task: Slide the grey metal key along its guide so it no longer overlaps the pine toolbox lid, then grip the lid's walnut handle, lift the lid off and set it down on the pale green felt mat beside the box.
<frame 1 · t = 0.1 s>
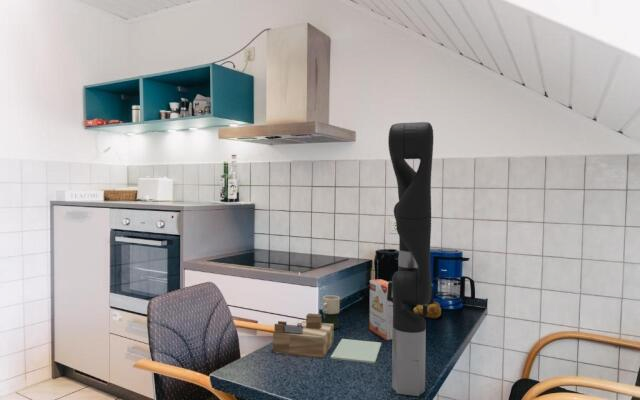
hand: (410, 315, 131), 17 cm above the countertop, tool pointing down, fingers open, 8 cm apart
character mug: (330, 328, 174), on the countertop
toolbox: (312, 348, 150), on the countertop
mat: (357, 351, 148), on the countertop
lid: (312, 333, 150), point 5 cm above the countertop, touching toolbox
cracker box: (383, 335, 166), on the countertop
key: (291, 327, 145), point 9 cm above the countertop, slide at 0.0 cm
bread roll: (427, 316, 194), on the countertop
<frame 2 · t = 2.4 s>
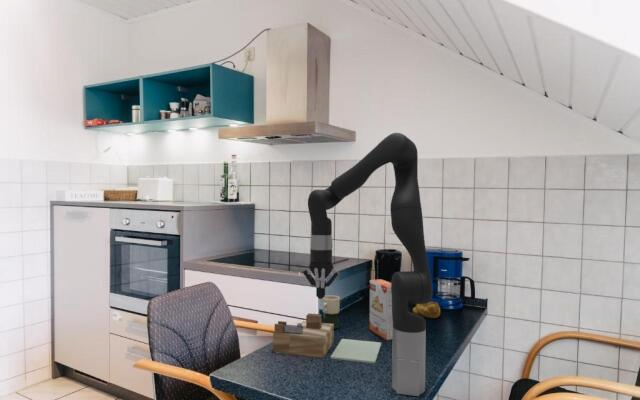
hand: (320, 298, 143), 20 cm above the countertop, tool pointing down, fingers closed
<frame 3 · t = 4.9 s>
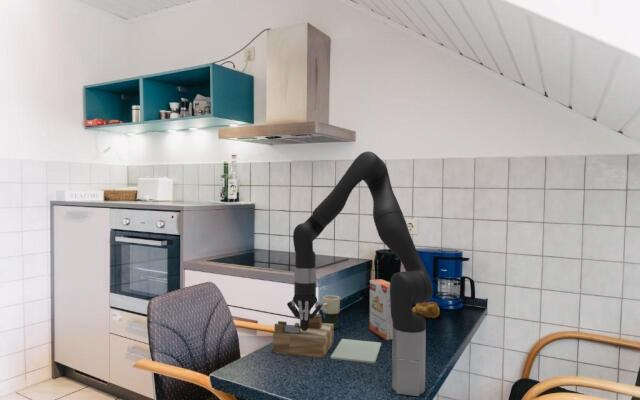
hand: (304, 330, 145), 8 cm above the countertop, tool pointing down, fingers closed
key: (288, 327, 146), point 9 cm above the countertop, slide at 1.0 cm, touching gripper
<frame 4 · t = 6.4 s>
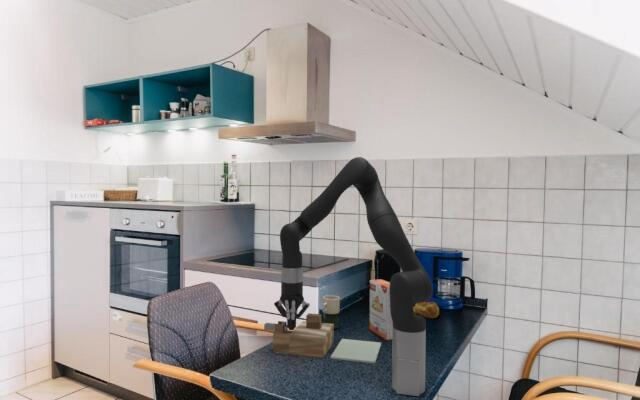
hand: (291, 329, 146), 8 cm above the countertop, tool pointing down, fingers closed
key: (275, 325, 147), point 9 cm above the countertop, slide at 5.7 cm, touching gripper
everything else where it was.
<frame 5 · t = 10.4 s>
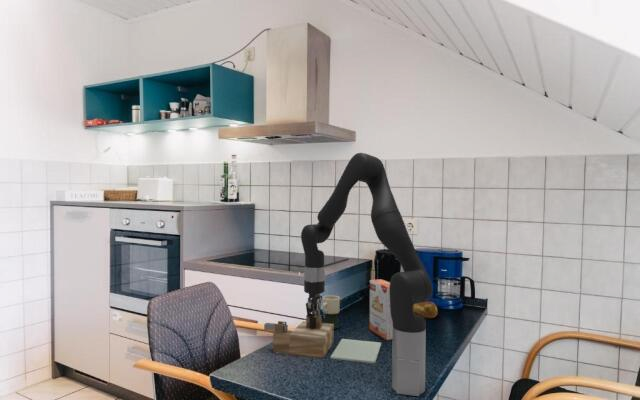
hand: (313, 326, 152), 7 cm above the countertop, tool pointing down, fingers closed on lid, 3 cm apart
lid: (312, 334, 150), point 5 cm above the countertop, touching gripper, toolbox
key: (275, 325, 147), point 9 cm above the countertop, slide at 5.7 cm
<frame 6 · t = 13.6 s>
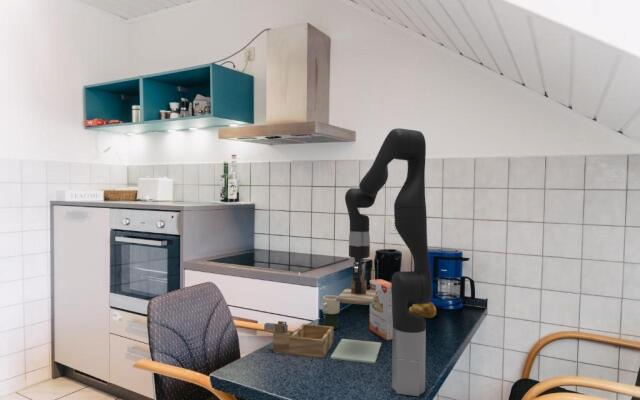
hand: (358, 291, 149), 21 cm above the countertop, tool pointing down, fingers closed on lid, 3 cm apart
lid: (357, 299, 148), point 18 cm above the countertop, touching gripper
when the fingers open (4 cm above the countertop, at t = 16.7 s): lid drops 2 cm, resting on mat.
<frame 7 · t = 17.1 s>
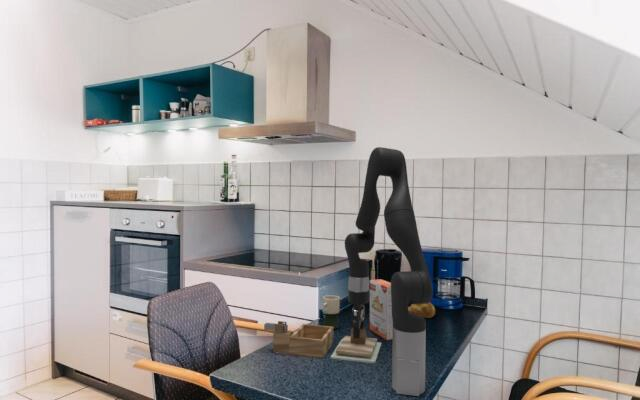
hand: (358, 334, 150), 5 cm above the countertop, tool pointing down, fingers open, 7 cm apart
lid: (357, 349, 148), point 1 cm above the countertop, touching mat
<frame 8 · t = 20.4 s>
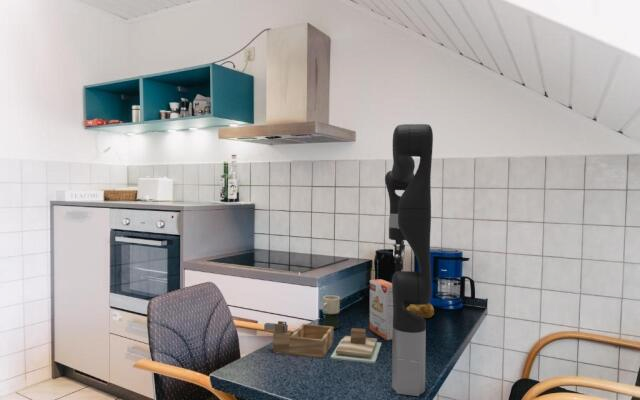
hand: (399, 271, 149), 28 cm above the countertop, tool pointing down, fingers open, 8 cm apart
at the end: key slide at 5.7 cm; lid inside the target area on the mat (0.0 cm from its centre), point 0.6 cm above the mat's base; lid tilted 0° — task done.
